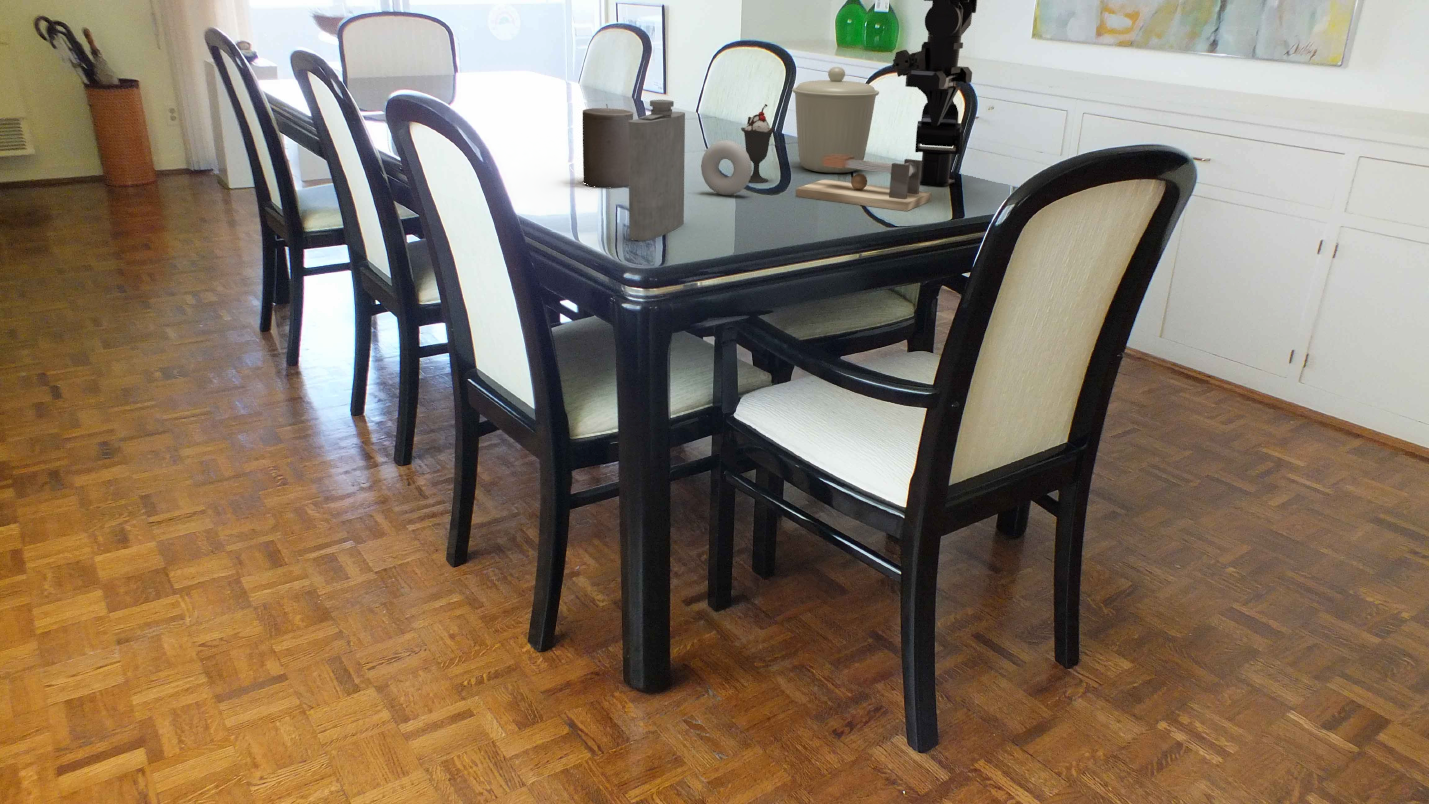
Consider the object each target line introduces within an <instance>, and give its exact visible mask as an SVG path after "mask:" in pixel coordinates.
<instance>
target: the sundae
mask: <svg viewBox="0 0 1429 804" xmlns="http://www.w3.org/2000/svg"><path fill="white" fill-rule="evenodd" d="M767 107H768V104H767V103H765V104H764V106H763V107H762V108H761V111H759V112H758V114H757V113H756V114H755V115H752V117H751V116H748V117H747V122H746V125H745V127H741V128H740V129H741V131H742V132H743V134H744V141H745V142H744V143H745V151H746V152H747V153H748V155H749V158H750V160H751V163H753V169H752V173H751V178H750V180H749V182H748V183H753V184H759V183H760V184H762V183H767V182H769V180H768V179H767V178H765V177H763V176H761V174H760V164H761V163H762V162H763V161H764V160H765V159H766V158H767V155H768V151H769V146H770V141H771V137H772V134H773V133H774V132H775V131H776V128H772V127H770V124H769V122H768V121H767V119H766V116H765V112H764V110H765V109H766V108H767Z"/></svg>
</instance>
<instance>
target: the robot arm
mask: <svg viewBox="0 0 1429 804" xmlns="http://www.w3.org/2000/svg"><path fill="white" fill-rule="evenodd" d="M923 1H924V2H932V4H931V7H929V9H928V11H927V12H926V13H925V16H924V26H925V29H926V31H927V41H923V43H922V44H921V49H920V50H919V51H916V52H911V53H910V52H909V51H908V50H907V49H902V50H899V51H897V52H895V54H894V55H895V56H894V59H892V61H893V63H892V65H891V66H892V69H895V70H896V74H897V78H898V77H899V78H900V77H901V76H903V77H905V87H908V88H917V89H918V90H919V91H920V92H922V94H923V95H924V96H925V97H926V101H927V102H926V103H925V104H924V106H923V109H922V112H921V119H920V120H917V126H916V131H915V133H916V135H915V149H914V150H915V151H914V152H915V153H922V155H921V160H922V167H921V177H920V185H926V186H928V185H929V186H936V187H947V186H949V185H951V184H953V183H955V179H950V174H951V173H950V172H951V163H952V155H956V156H958V155H962V154H963V149H964V148H963V146H964V133H965V130H964V129H963V127H962V123H961V122H959V110H958V107H957V106H958V105H957V104H956V103H955V102H954V98H955V96H956V95H957V94H958V92H959V90H960V89H961V85H960V86H959V85H956V83H963V84H970V83H972V81H973V80H972V77H973V72H972V70H971V69H970V67H969V66H961V65H960V66H959V60H960V59H959V58H960V51H961V49H963V48H964V42H962V36H963V34H964V33H965V32H966V31H967V30H968V29H969V28H970V26H971V25H972V20H973V19H972V18H973V14H976V12H977V6H978V0H923Z"/></svg>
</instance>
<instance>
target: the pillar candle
mask: <svg viewBox="0 0 1429 804" xmlns="http://www.w3.org/2000/svg"><path fill="white" fill-rule="evenodd" d="M605 106H606V107H596V108H595V107H592V108H586V109H583V110H582V162H583V163H582V164H583V165H582V166H583V169H582V170H583V171H582V173H583V181H582V183H583V182H584V183H586V184H588V185H591V186H595V188H600V187H611V188H610V189H615V188H616V189H617V188H618V189H619V188H627V187H629V131H628V121H629V120H634V111H631V110H627V109H624V108H623V109H622V108H611V107H610V108H609V106H608V103H606V104H605ZM591 186H590V187H591Z"/></svg>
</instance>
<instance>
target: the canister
mask: <svg viewBox="0 0 1429 804" xmlns="http://www.w3.org/2000/svg"><path fill="white" fill-rule="evenodd" d="M827 76H828V80H827V79H824V80H822V79H819V80H818V79H817V80H809V81H808V80H807V81H803V82H801V83H799V84H798V85H797V86H796V87H793V88H792V89H791V91H792V92H793V94H794V96H795V97H794V99H795V100H794V101H795V117H796V136H797V148H798V149H797V150H798V151H797V152H798V158H799V163H800V164H801V165H802V167H803V168H804V169H806V170H808V171H812V172H818V173H827V174H845V173H852V172H855V171H857V170H858V169H855V168H848V167H844V168H838V167H830V166H822V165H823V157H824V156H828V155H831V154H842V155H850V156H854V159H855V160H863V161H865V160H864V159H865V155H866V150H867V145H868V143H869V142H868V141H869V137H870V131H871V127H872V126H871V125H872V119H873V115H874V109H875V108H874V107H875V103H876V98H877V96H878V95H880V91H879V90H877V89H875V87H874V86H873V85H872V84H870V83H866V82H865V83H864V82H860V81H853V80H844V79H845V77H846V71H845V69H844V68H843V67H842V66H841V67H840V66H832V67H831V68H829V70H828V72H827Z"/></svg>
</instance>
